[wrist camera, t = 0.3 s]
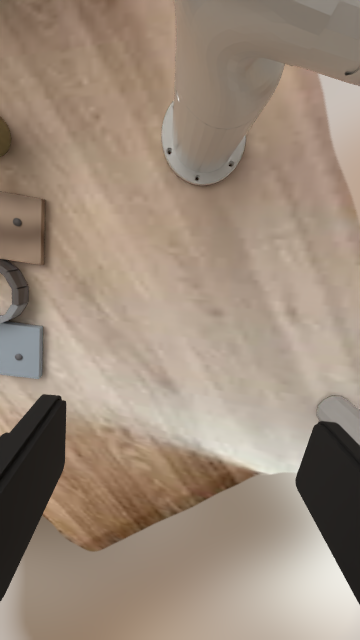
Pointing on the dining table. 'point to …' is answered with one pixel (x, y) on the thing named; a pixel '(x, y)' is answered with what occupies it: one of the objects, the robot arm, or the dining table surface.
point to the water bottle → (341, 415)
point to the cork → (4, 137)
